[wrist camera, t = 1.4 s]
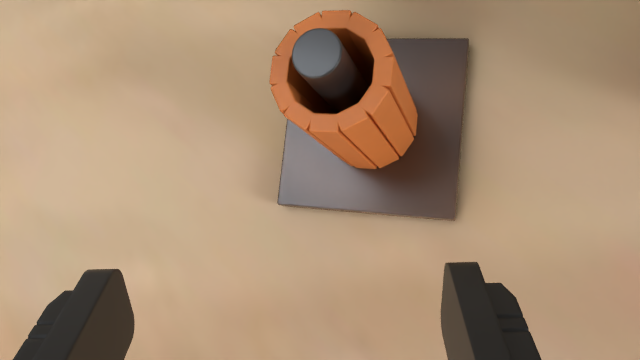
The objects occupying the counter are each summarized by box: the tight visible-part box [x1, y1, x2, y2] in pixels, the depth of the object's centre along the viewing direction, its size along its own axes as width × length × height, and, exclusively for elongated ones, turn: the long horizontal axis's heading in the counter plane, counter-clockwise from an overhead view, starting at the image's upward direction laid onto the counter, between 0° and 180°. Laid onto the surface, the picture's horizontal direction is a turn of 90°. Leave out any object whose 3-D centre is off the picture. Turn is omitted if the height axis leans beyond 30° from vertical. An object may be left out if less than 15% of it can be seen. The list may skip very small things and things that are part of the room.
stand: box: [278, 28, 469, 221], centre depth 27 cm, size 10×10×12 cm
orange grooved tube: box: [270, 10, 418, 169], centre depth 27 cm, size 5×5×9 cm
